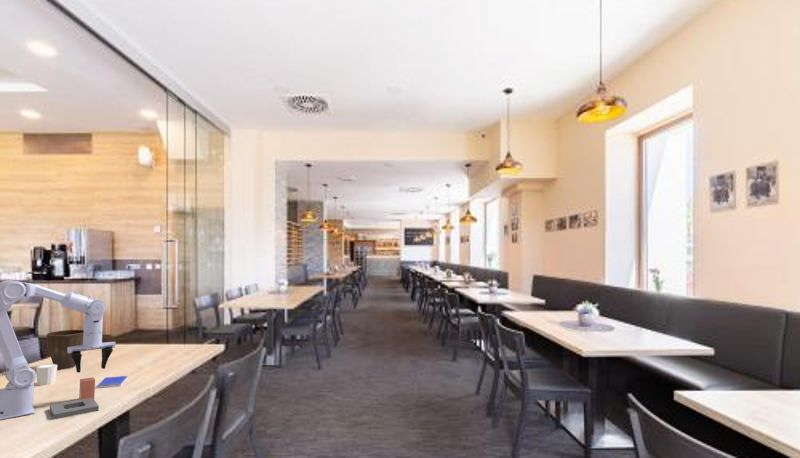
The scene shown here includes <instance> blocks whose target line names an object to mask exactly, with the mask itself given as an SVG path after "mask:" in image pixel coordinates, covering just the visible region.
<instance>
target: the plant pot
mask: <svg viewBox="0 0 800 458" xmlns="http://www.w3.org/2000/svg"><path fill="white" fill-rule="evenodd" d="M83 334H84V329H68V330H67V329H66V330H56V331H51V332H47V333H46V340H47V341H46V342H47V347H48V353H49V356H50V359H51V363H52V364H57V370H66V369H71V368H74V367H76V365H75V362H74V360H73V358H72V356H71V354H70V353H67V350H68V347H72V346H78V345H83ZM80 352H81V353H82V351H80Z"/></svg>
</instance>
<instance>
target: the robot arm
mask: <svg viewBox="0 0 800 458" xmlns="http://www.w3.org/2000/svg"><path fill="white" fill-rule="evenodd" d="M35 296H36V297H39V298H42V299H43V298H44V299H48V300H51V301H55V302H57V303H60V306H61V307H62V308H64V309H68V310H72V311H75V312H78V313H84V321H83V330H84V334H83V345H78V346H72V347H68V350H67V353H70V354H71V356H72V358H73V360H74V362H75V370H76V373H78V374H79V373H81V371H82V370H81V368H82V367H81V364H82V363H81V362H82V352H87V351H97V350H101V366H100V367H101V368H100V369H106V366H107V364H108V361H109V358H110V356H111V354H112V353H113V351H114V348H116V341H107V342H106V341H105V342H103V328H104V327H103V325H104V314H105V312H106V310H107V306H106V304H105V303H104V301H102V300H99V299H95V298H94V297H93V296H90V295H89V296H86V295H83V294H80V292H79V291H75V290H74V291H69V292H67V293H66V292H65V293H63V292H60V291H56V290H54V289H51V288H48V287H45V286H41V285H39V284H35V283H30V282H22V281H19V280H14V279H6V280H5V279H4V280H2V281H0V352H1V355H2V357H3V360H4V365H5V369H6V370H5V371H6V372H5V378H6V380H7V381H8V382H7V383H6V385H5V387H3V388H0V421H1V420H5V419H11V418H16V417H21V416H22V417H23V416H27V415H33V414H36V411H35V408H34V393H35V392H34V390H35V382H34V381H35V379H36V378H37V373H36V371H35V370H34V369H33V368H31V367H30V366H29V363H28V361H27V359H26V357H25V356H24V353H23V351H22V349H21V346H20V343H19V341H18V338H17V335H16V333H15V330H14V327H13V326H12V323H11V322H12V321H11V320H10V317H9V315H8V311H9V310H10V308H11V307H12V306H13V305H14V304H15V303H16V302H17V301H19V300H20V299H22V298H23V297H25V298H29V297H35ZM80 351H81V352H80Z"/></svg>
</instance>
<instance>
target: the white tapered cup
mask: <svg viewBox="0 0 800 458" xmlns="http://www.w3.org/2000/svg"><path fill="white" fill-rule="evenodd" d="M35 369H36V371H35V373H36V385H37V386H47V385H52V384H55V383H56V377H57V371H58V369H57V364H53V363H49V364H43V365H38V366H36V367H35Z"/></svg>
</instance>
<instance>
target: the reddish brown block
mask: <svg viewBox="0 0 800 458" xmlns="http://www.w3.org/2000/svg"><path fill="white" fill-rule="evenodd" d="M95 386H96V378H94V377H93V376H92V377H87V378H86V377H85V378H80V379H79V394H78V397H79V398H78V400H81V399H86V398H92V397H93V399H94V400H95V388H96V387H95Z"/></svg>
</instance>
